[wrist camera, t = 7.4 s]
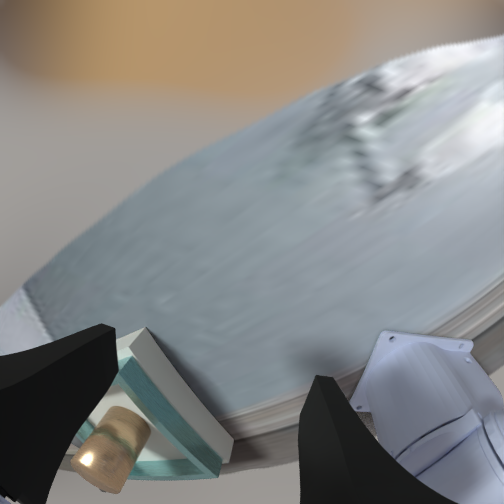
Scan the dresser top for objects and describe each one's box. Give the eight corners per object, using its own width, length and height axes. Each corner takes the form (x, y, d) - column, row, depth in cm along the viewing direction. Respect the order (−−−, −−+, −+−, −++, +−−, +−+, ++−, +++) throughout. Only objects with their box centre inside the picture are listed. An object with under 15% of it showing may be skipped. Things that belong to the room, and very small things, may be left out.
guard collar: (132, 355, 19) (118, 373, 17) (222, 459, 21) (218, 477, 19) (52, 382, 22) (40, 394, 19) (129, 465, 24) (122, 478, 22)
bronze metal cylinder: (151, 419, 20) (117, 479, 14) (150, 452, 22) (123, 504, 15) (106, 398, 21) (65, 451, 14) (110, 434, 22) (78, 481, 16)
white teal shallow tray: (145, 327, 21) (118, 358, 17) (234, 439, 24) (226, 475, 20) (43, 369, 25) (22, 390, 21) (115, 452, 28) (102, 475, 24)
